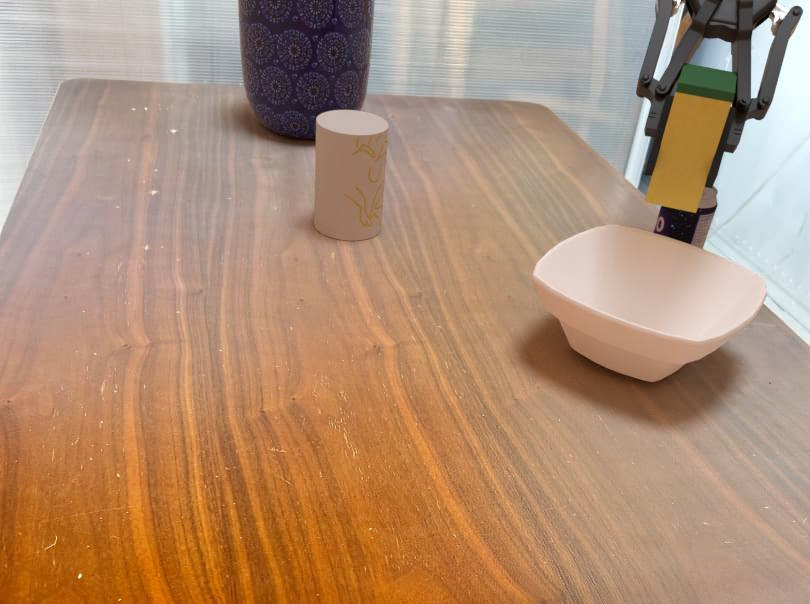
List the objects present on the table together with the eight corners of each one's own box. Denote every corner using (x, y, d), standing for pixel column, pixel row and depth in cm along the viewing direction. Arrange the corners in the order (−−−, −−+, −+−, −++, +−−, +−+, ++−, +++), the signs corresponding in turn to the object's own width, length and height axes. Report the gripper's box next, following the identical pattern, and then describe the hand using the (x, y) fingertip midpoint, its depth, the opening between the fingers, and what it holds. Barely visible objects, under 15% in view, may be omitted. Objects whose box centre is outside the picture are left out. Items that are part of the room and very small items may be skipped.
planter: (310, 98, 140) (313, -56, 126) (392, 134, 132) (405, -26, 118) (216, 118, 130) (208, -47, 116) (298, 158, 121) (299, -15, 107)
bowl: (759, 354, 93) (790, 279, 87) (680, 439, 80) (711, 358, 74) (587, 286, 101) (605, 213, 95) (491, 353, 88) (505, 273, 82)
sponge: (700, 188, 90) (737, 72, 82) (696, 213, 85) (735, 92, 77) (651, 177, 90) (683, 62, 83) (644, 202, 85) (678, 82, 78)
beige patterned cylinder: (356, 247, 103) (362, 140, 95) (300, 226, 106) (301, 121, 97) (393, 225, 108) (402, 122, 100) (339, 206, 111) (343, 104, 103)
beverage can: (669, 277, 105) (701, 175, 96) (696, 300, 101) (732, 196, 93) (628, 281, 103) (658, 177, 95) (654, 304, 99) (687, 199, 91)
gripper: (830, -16, 85) (767, 212, 85) (646, -47, 88) (583, 174, 88) (859, -75, 78) (789, 175, 77) (656, -106, 81) (588, 135, 80)
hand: (680, 174), depth 83 cm, fingers closed on sponge, 5 cm apart
